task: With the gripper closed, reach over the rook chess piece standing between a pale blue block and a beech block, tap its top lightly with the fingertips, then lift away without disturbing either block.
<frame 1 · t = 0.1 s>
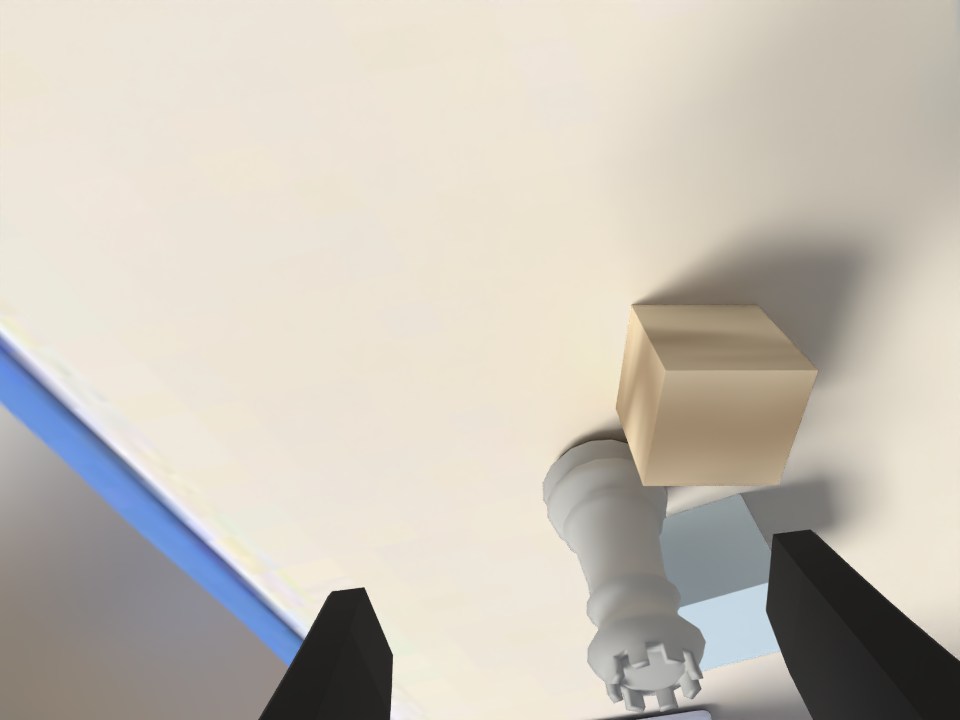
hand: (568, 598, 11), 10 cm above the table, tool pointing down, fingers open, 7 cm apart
beech block: (682, 357, 20), on the table
rook chess piece: (598, 475, 23), on the table
pale blue block: (700, 540, 25), on the table
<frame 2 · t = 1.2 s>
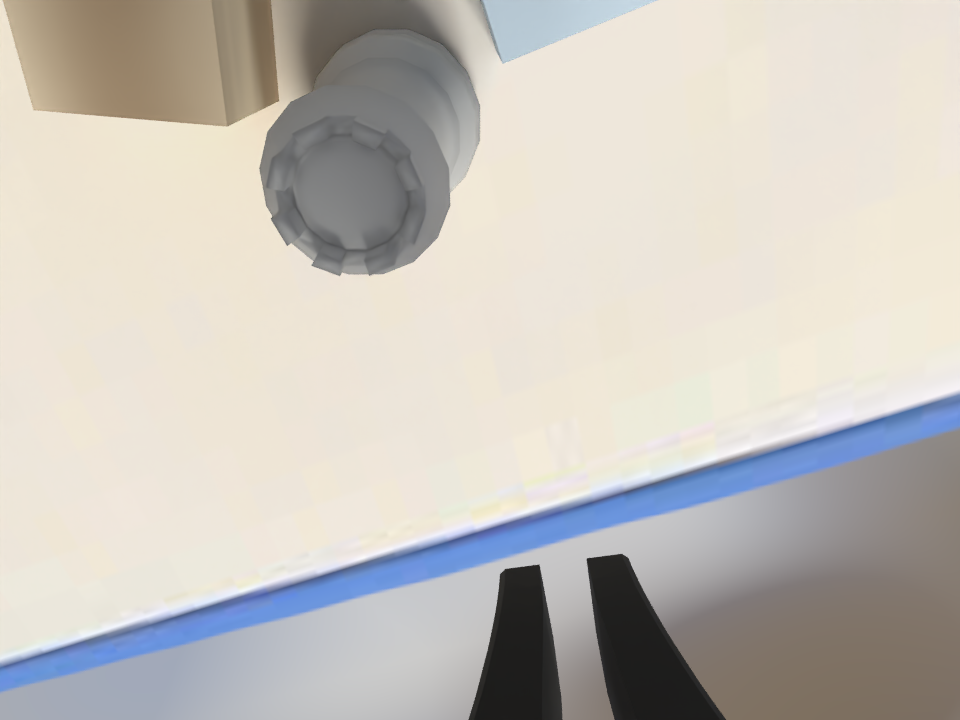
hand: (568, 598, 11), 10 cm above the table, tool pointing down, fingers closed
beech block: (192, 8, 15), on the table
rook chess piece: (400, 118, 17), on the table
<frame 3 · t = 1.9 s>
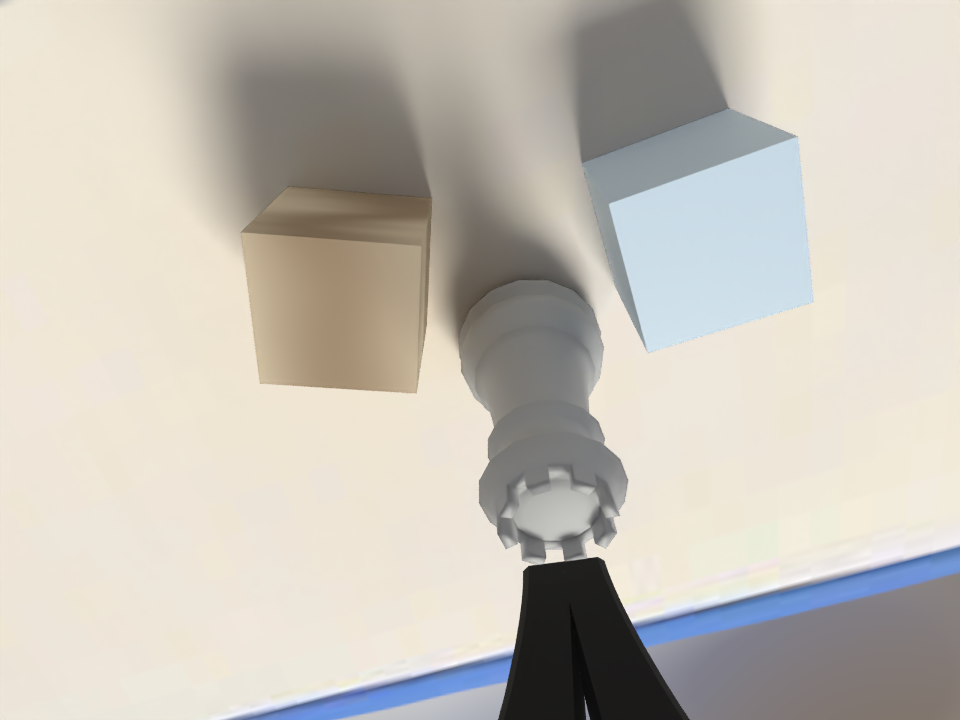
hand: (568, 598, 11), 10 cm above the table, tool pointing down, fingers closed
beech block: (362, 258, 18), on the table
rook chess piece: (527, 334, 19), on the table
pale blue block: (667, 204, 17), on the table
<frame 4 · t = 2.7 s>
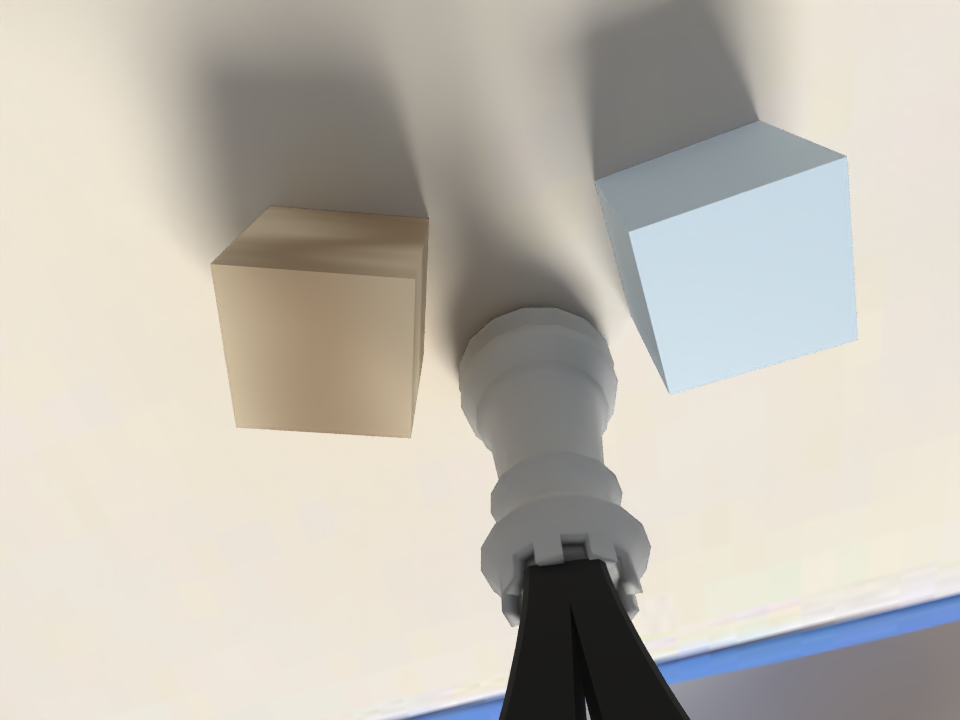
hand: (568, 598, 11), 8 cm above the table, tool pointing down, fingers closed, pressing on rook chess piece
beech block: (352, 283, 16), on the table
rook chess piece: (533, 364, 18), on the table, touching gripper
pale blue block: (688, 225, 15), on the table
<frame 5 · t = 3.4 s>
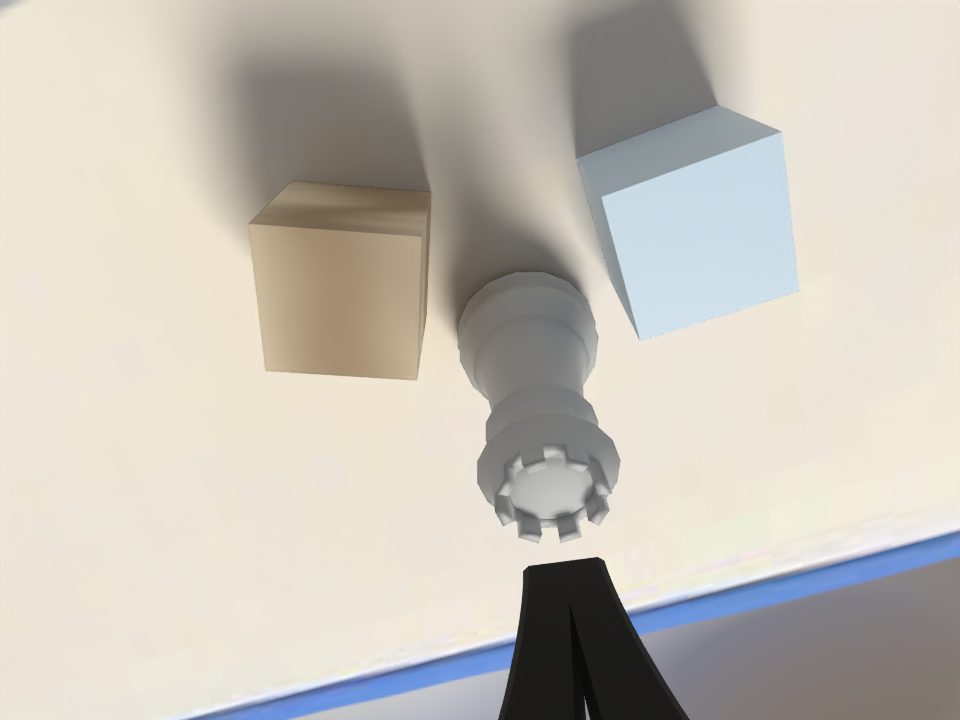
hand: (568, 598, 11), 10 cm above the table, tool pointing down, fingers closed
beech block: (363, 251, 18), on the table
rook chess piece: (524, 325, 20), on the table
pale blue block: (659, 198, 18), on the table
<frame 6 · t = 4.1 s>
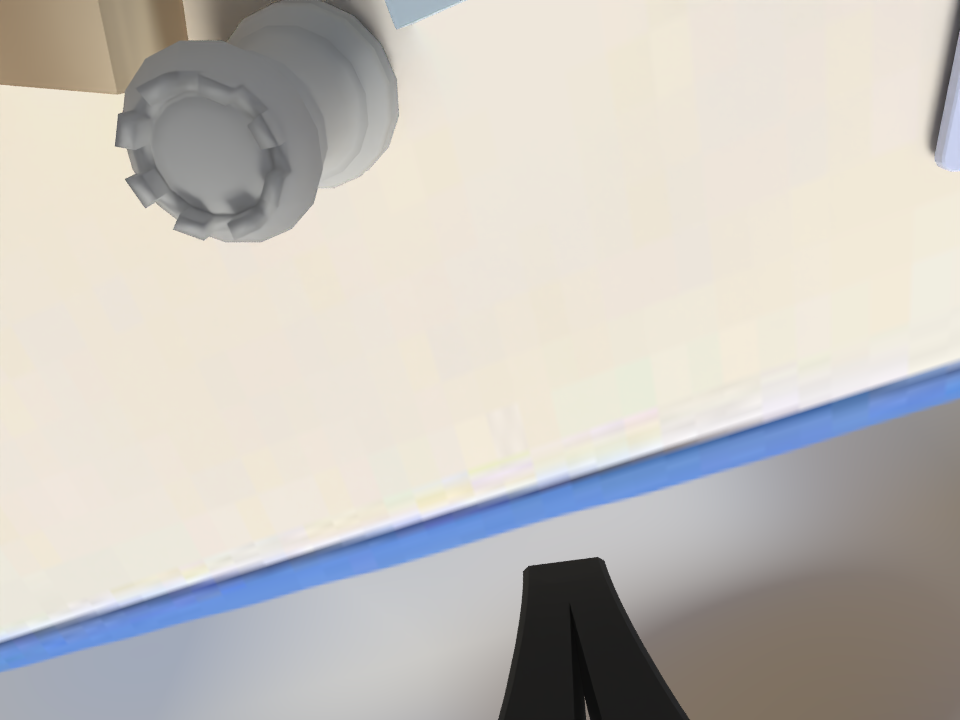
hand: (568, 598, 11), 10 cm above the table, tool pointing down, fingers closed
rook chess piece: (319, 94, 16), on the table
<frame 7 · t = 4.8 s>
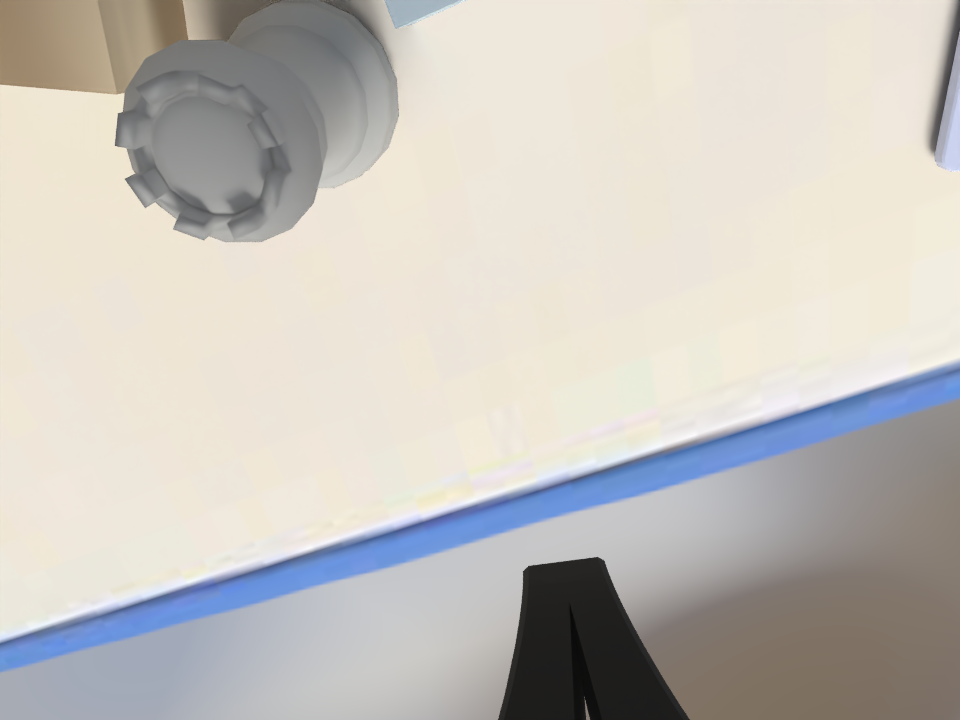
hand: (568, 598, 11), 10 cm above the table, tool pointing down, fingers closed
rook chess piece: (319, 94, 16), on the table
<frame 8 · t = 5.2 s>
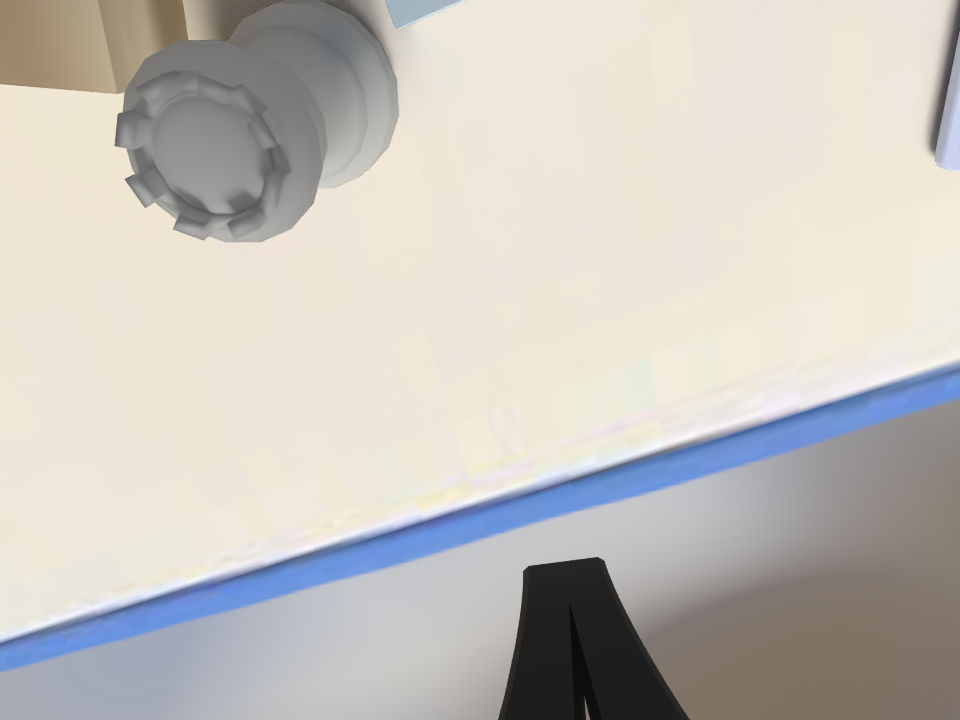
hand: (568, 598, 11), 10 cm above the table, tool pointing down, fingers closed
rook chess piece: (319, 94, 16), on the table
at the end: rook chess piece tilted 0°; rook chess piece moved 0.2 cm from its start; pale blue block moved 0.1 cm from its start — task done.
